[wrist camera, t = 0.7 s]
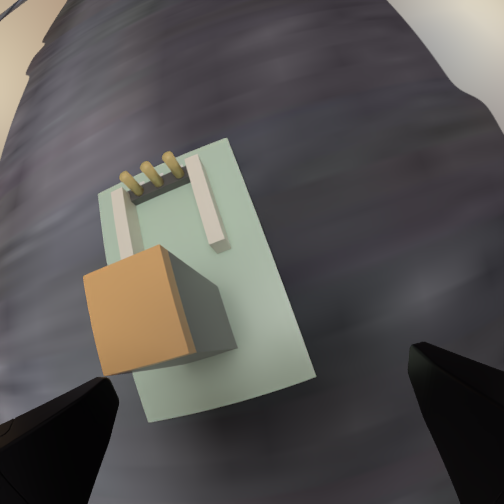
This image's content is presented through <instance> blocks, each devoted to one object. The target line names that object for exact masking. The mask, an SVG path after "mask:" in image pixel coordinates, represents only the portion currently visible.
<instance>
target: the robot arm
mask: <svg viewBox="0 0 504 504" xmlns="http://www.w3.org/2000/svg"><path fill="white" fill-rule="evenodd" d="M408 374H409V378H410V381H411V383H412V386H413V389H414V392H415V395H416V398H417V401H418V404H419V407H420V410H421V413H422V415H423V418H424V420H425V422H426V425H427V427H428V429H429V431H430V433H431V435H432V437H433V440H434V442H435V444H436V446H437V448H438V451H439V453H440V455H441V458H442V460H443V462H444V464H445V467H446V469H447V471H448V474H449V476H450V479H451V481H452V483H453V486H454V488H455V491H456V493H457V496H458V498H459V501H460V504H504V371H501V370H499V369H496V368H493V367H490V366H488V365H485V364H482V363H479V362H477V361H474V360H471V359H469V358H466V357H463V356H461V355H458V354H455V353H453V352H450V351H447V350H445V349H442V348H439V347H437V346H434V345H432V344H429V343H426V342H420V343H416V344H413V345H411V347H410V351H409V363H408ZM118 407H119V398H118V396H117V394H116V391H115V389H114V387H113V385H112V383H111V381H110V379H109V378H107V377H96V378H94V379H92V380H90V381H88V382H86V383H84V384H82V385H80V386H79V387H77V388H75V389H73V390H71V391H69V392H67V393H65V394H63V395H61V396H59V397H57V398H55V399H53V400H51V401H49V402H47V403H45V404H43V405H41V406H39V407H37V408H35V409H32V410H30V411H28V412H26V413H24V414H22V415H20V416H18V417H16V418H15V419H12V420H10V421H7V422H5V423H3V424H1V425H0V504H88V501H89V498H90V495H91V492H92V489H93V486H94V483H95V480H96V477H97V475H98V472H99V469H100V466H101V463H102V460H103V458H104V455H105V452H106V450H107V447H108V444H109V441H110V437H111V433H112V429H113V425H114V422H115V418H116V414H117V410H118Z"/></svg>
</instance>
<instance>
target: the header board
mask: <svg viewBox="0 0 504 504" xmlns="http://www.w3.org/2000/svg"><path fill="white" fill-rule="evenodd" d="M162 159H163V161H164V162H165V163H163V164H160V165H158V166H156V167H154V168H153V166H152V165H151V164H150V163H149V162H148V161H145V162H143V163H142V164H141V166H140V169H141V170H142V173H140V174H138V175H136V176H134V177H132V176H131V175H130V174H129V173H128V172H127V171H124V172H122V173H121V174H120V177H119V179H120V180H121V181H122V182H121V183H119V184H117V185H115V186H113V187H111V188H109V189H107V190H105V191H103V192H101V193H99V194H98V199H99V208H100V217H101V225H102V233H103V240H104V247H105V253H106V260H107V265H110V264H113V263H115V262H118V261H120V260H122V259H125V258H127V257H129V256H132V255H134V254H137V253H139V252H142V251H144V250H146V249H149V248H151V247H154V246H156V245H159V244H160V245H161V246H163V247H164V248H165V249H167V250H168V251H169V252H171V253H172V254H173V255H175V256H176V257H177V258H179V259H180V260H182V261H183V262H184V263H186V264H187V265H188V266H190V267H191V268H193V269H194V270H195V271H197V272H198V273H200V274H201V275H202V276H204V277H205V278H207V279H208V280H209V281H211V282H212V283H214V284H215V285H216V286H218V289H219V292H220V295H221V298H222V301H223V305H224V308H225V311H226V314H227V317H228V320H229V323H230V326H231V329H232V332H233V335H234V338H235V341H236V344H237V347H238V348H236V349H233V350H230V351H227V352H224V353H221V354H217V355H214V356H211V357H208V358H204V359H201V360H198V361H194V362H191V363H187V364H184V365H178V366H172V367H166V368H160V369H154V370H147V371H140V372H133V377H134V380H135V383H136V387H137V390H138V393H139V396H140V399H141V402H142V405H143V408H144V411H145V414H146V417H147V420H148V422H155V421H160V420H166V419H171V418H175V417H180V416H185V415H189V414H194V413H198V412H202V411H206V410H211V409H215V408H218V407H222V406H226V405H230V404H234V403H237V402H241V401H244V400H248V399H251V398H254V397H258V396H261V395H264V394H268V393H271V392H274V391H277V390H280V389H283V388H286V387H289V386H292V385H295V384H298V383H301V382H303V381H306V380H309V379H312V378H314V377H316V374H315V372H314V369H313V366H312V363H311V360H310V358H309V355H308V352H307V349H306V346H305V344H304V341H303V338H302V335H301V333H300V330H299V327H298V324H297V322H296V319H295V316H294V313H293V311H292V308H291V305H290V302H289V300H288V297H287V294H286V292H285V289H284V286H283V283H282V281H281V278H280V275H279V273H278V270H277V267H276V265H275V262H274V259H273V257H272V254H271V251H270V248H269V246H268V243H267V241H266V238H265V235H264V233H263V230H262V227H261V225H260V222H259V219H258V217H257V214H256V211H255V209H254V206H253V204H252V201H251V198H250V196H249V193H248V191H247V188H246V185H245V183H244V180H243V178H242V175H241V172H240V170H239V167H238V165H237V162H236V160H235V157H234V155H233V152H232V149H231V147H230V144H229V142H228V139H227V138H225V139H222V140H219V141H217V142H214V143H211V144H209V145H206V146H204V147H201V148H199V149H196V150H194V151H191V152H189V153H186V154H184V155H181V156H179V157H177V158H175V157H174V155H173V154H172V152H166V153H164V154H163V156H162Z"/></svg>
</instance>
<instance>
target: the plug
mask: <svg viewBox="0 0 504 504" xmlns="http://www.w3.org/2000/svg"><path fill="white" fill-rule="evenodd" d="M83 280H84V286H85V293H86V298H87V304H88V309H89V315H90V320H91V324H92V329H93V334H94V338H95V343H96V347H97V351H98V355H99V359H100V363H101V367H102V370H103V374H104V376H110V375H118V374H126V373H133V372H140V371H147V370H154V369H160V368H166V367H172V366H178V365H184V364H187V363H191V362H194V361H198V360H201V359H204V358H208V357H211V356H214V355H217V354H221V353H224V352H227V351H230V350H233V349H236V348H238V347H237V344H236V341H235V338H234V335H233V332H232V329H231V326H230V323H229V320H228V317H227V314H226V311H225V308H224V305H223V301H222V298H221V295H220V292H219V289H218V286H216V285H215V284H214V283H212V282H211V281H209V280H208V279H207V278H205V277H204V276H202V275H201V274H200V273H198V272H197V271H195V270H194V269H193V268H191V267H190V266H188V265H187V264H186V263H184V262H183V261H182V260H180V259H179V258H177V257H176V256H175V255H173V254H172V253H171V252H169V251H168V250H167V249H165V248H164V247H163V246H161V245H160V244H159V245H156V246H154V247H151V248H149V249H146V250H144V251H142V252H139V253H137V254H134V255H132V256H129V257H127V258H125V259H122V260H120V261H118V262H115V263H113V264H110V265H108V266H106V267H103V268H101V269H99V270H96V271H94V272H92V273H89V274H87V275H85V276H83Z"/></svg>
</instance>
